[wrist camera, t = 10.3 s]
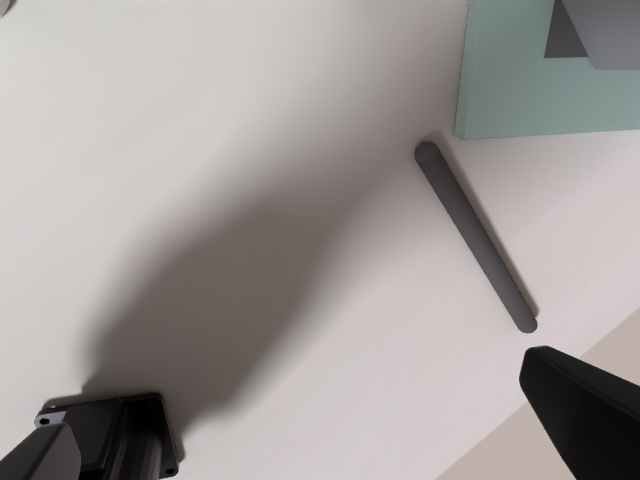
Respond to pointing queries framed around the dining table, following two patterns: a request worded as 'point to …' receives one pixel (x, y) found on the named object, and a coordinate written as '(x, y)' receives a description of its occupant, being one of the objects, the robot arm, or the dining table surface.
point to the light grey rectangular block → (608, 31)
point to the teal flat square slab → (536, 76)
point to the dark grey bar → (474, 234)
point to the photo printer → (3, 6)
